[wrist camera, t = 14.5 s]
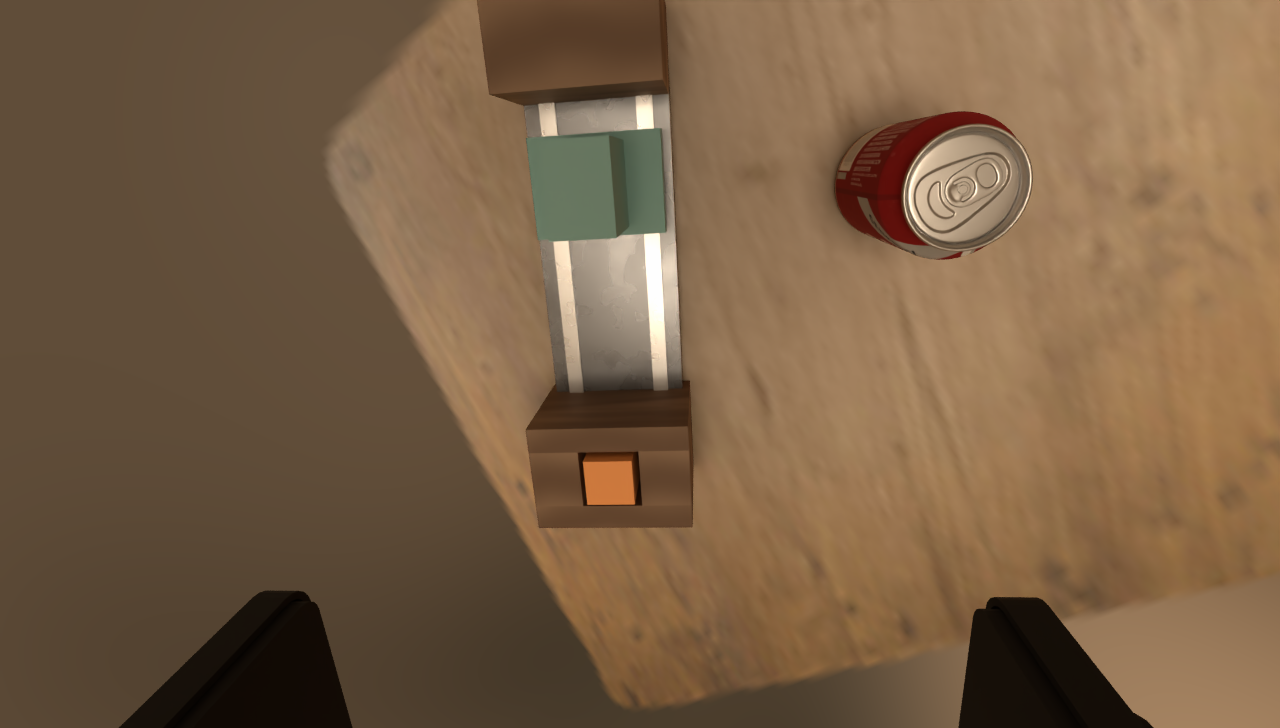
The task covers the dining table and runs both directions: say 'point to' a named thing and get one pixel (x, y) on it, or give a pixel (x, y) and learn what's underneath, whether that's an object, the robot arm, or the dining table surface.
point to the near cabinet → (574, 49)
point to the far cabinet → (613, 426)
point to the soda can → (936, 184)
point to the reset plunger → (611, 477)
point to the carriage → (598, 184)
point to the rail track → (613, 271)
